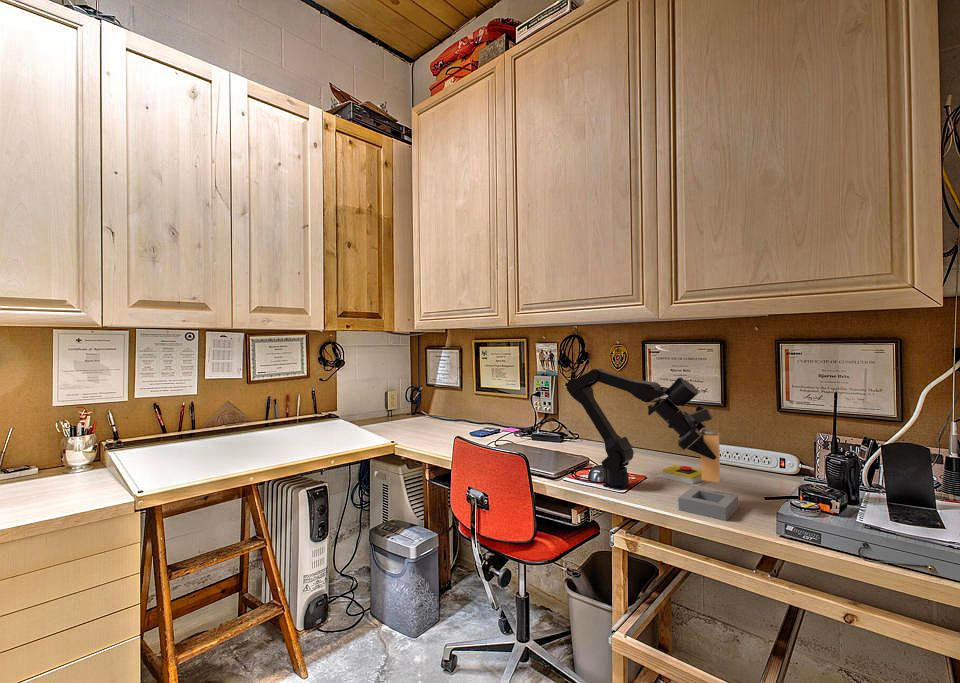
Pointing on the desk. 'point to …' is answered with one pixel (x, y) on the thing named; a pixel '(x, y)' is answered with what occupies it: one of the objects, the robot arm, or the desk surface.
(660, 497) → the desk surface
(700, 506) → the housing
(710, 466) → the orange bar
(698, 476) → the emergency button
